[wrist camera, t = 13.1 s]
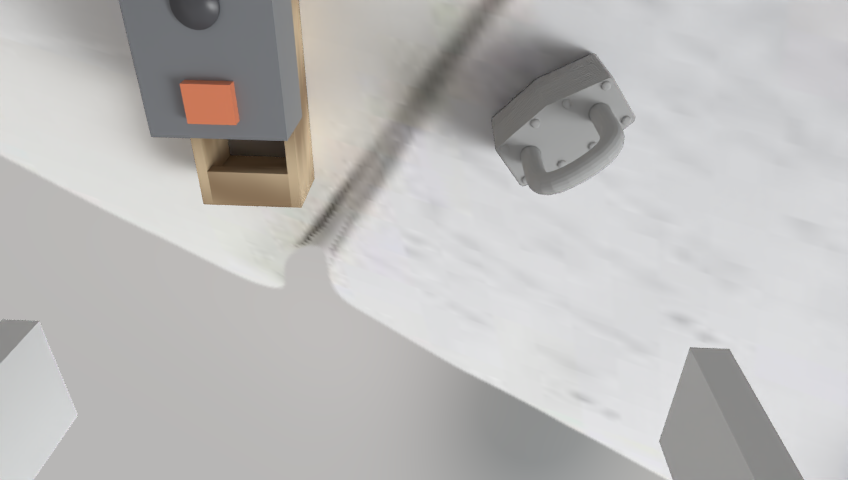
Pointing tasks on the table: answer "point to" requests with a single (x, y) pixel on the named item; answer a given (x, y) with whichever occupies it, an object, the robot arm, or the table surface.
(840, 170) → the table surface
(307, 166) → the keyhole rail
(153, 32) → the power strip
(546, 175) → the padlock
